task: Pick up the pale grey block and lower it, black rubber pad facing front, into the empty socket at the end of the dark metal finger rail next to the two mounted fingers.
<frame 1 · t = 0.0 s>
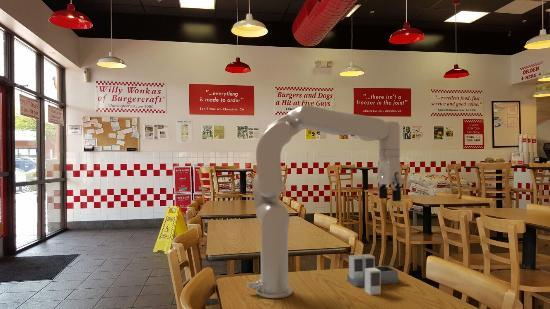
hand: (389, 199, 153), 31 cm above the table, tool pointing down, fingers open, 9 cm apart
pale grey block: (372, 292, 141), on the table
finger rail: (372, 281, 153), on the table
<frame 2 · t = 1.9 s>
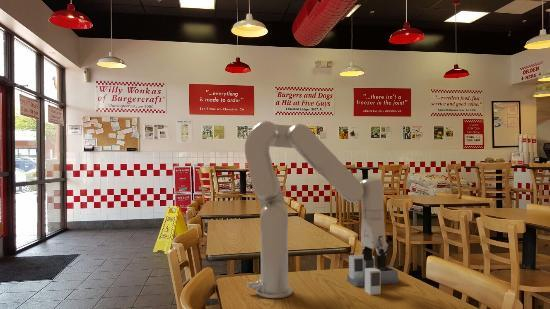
hand: (374, 263, 141), 10 cm above the table, tool pointing down, fingers open, 9 cm apart
nothing on the table moved.
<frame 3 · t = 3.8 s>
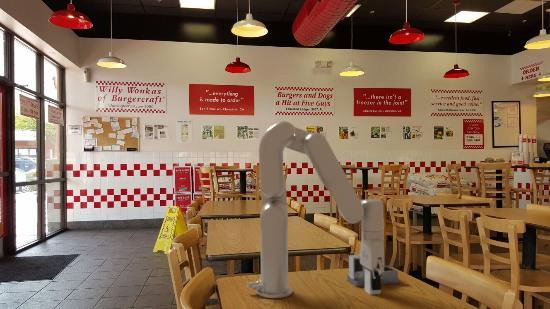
hand: (372, 287, 141), 2 cm above the table, tool pointing down, fingers closed on pale grey block, 4 cm apart
pale grey block: (372, 292, 141), on the table, touching gripper
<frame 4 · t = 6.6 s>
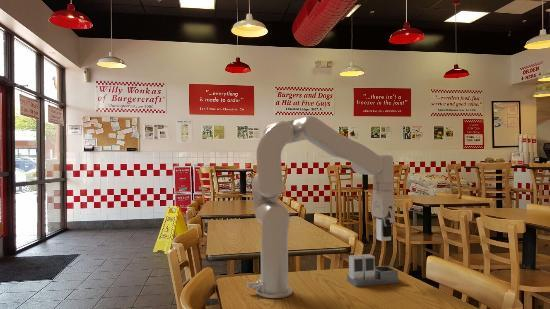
hand: (383, 234, 154), 17 cm above the table, tool pointing down, fingers closed on pale grey block, 4 cm apart
pale grey block: (383, 239, 154), point 16 cm above the table, touching gripper
when the fingers open (5 cm above the table, at t = 9.6 s): pale grey block drops 1 cm, resting on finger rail.
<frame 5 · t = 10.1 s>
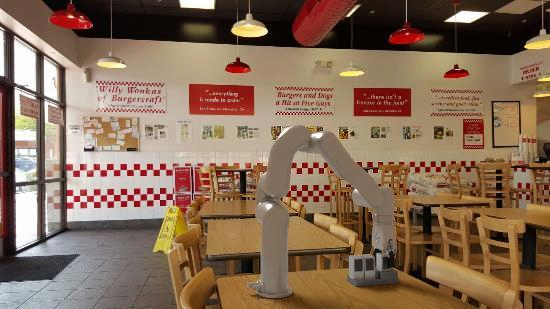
hand: (384, 264, 154), 6 cm above the table, tool pointing down, fingers open, 9 cm apart
pale grey block: (383, 275, 154), point 2 cm above the table, touching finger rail
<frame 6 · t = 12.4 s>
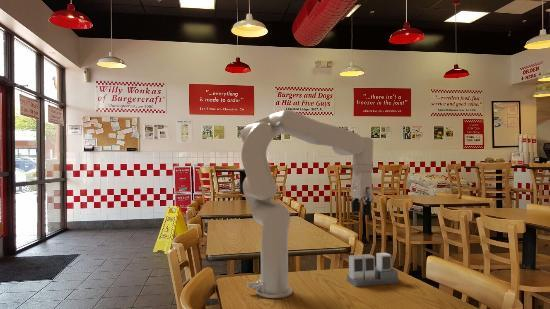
hand: (361, 213, 156), 25 cm above the table, tool pointing down, fingers open, 9 cm apart
nothing on the table moved.
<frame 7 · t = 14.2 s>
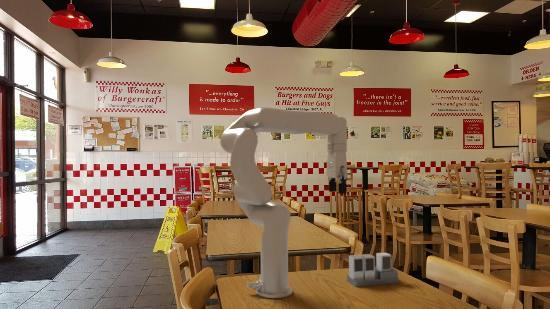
hand: (337, 192, 158), 33 cm above the table, tool pointing down, fingers open, 9 cm apart
nothing on the table moved.
at the end: pale grey block 0.2 cm from the target spot on the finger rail, point 2.1 cm above the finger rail's base; pale grey block tilted 0°; the gripper is holding nothing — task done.
